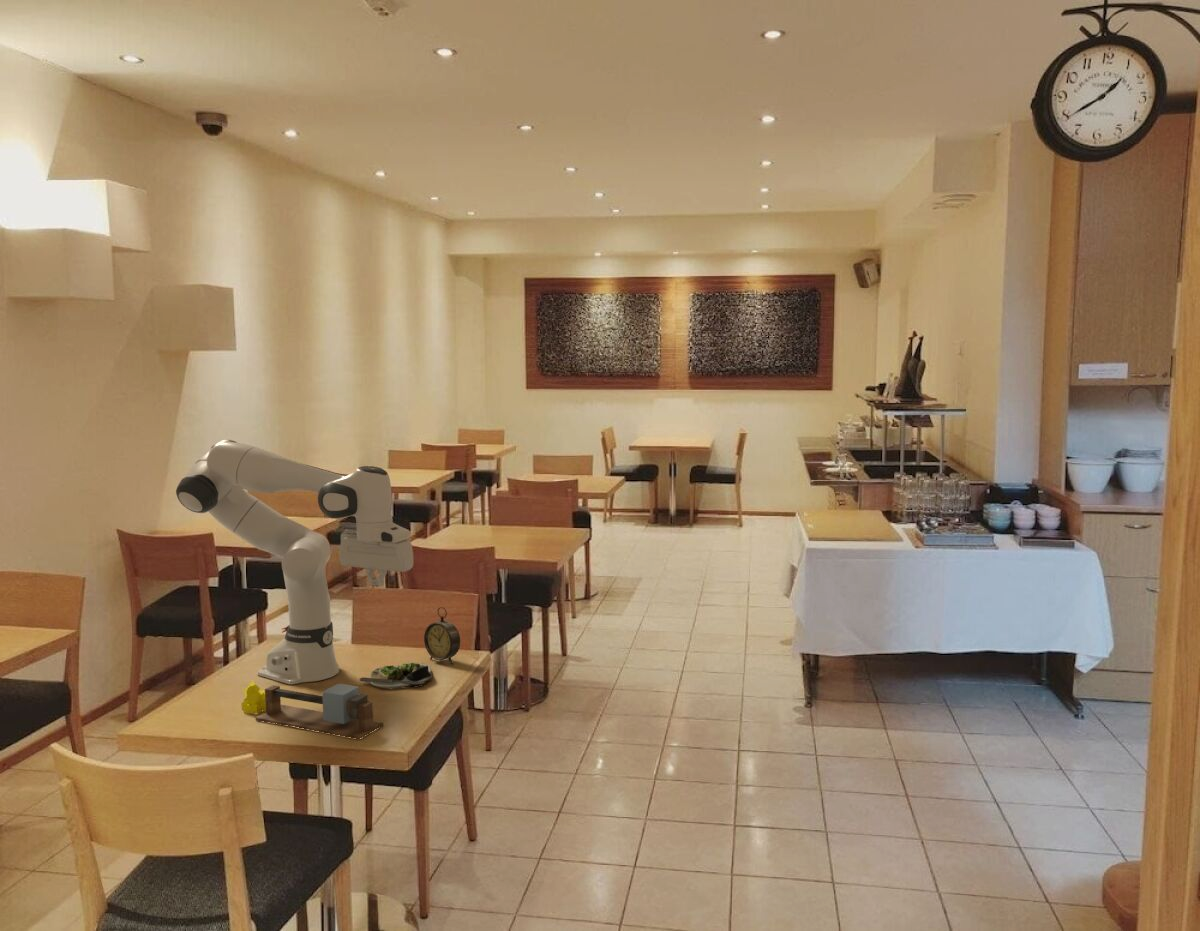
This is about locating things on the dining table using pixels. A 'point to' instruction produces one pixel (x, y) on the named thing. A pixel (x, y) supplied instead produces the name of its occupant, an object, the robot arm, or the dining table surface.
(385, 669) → the salad plate
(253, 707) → the crumpled paper
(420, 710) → the dining table surface
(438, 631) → the alarm clock
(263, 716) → the rail rig
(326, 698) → the sleeve
